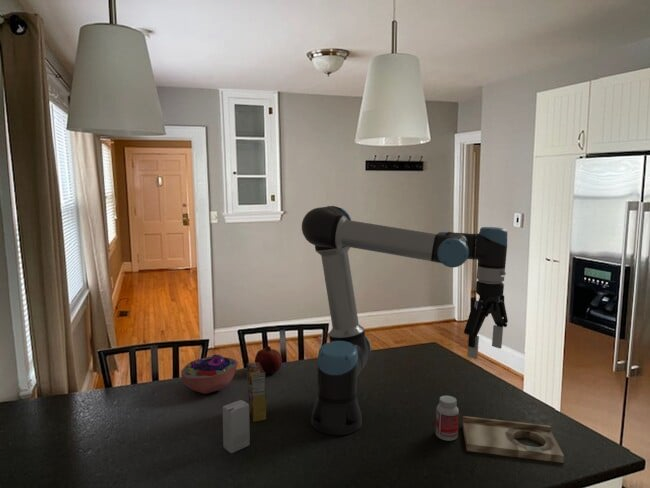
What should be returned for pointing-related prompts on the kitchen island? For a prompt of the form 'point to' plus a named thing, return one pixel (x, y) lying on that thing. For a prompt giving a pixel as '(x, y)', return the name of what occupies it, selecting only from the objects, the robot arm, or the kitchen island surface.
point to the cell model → (209, 373)
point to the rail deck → (510, 439)
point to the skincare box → (236, 426)
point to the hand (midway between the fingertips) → (484, 352)
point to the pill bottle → (447, 418)
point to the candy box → (256, 391)
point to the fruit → (269, 360)
